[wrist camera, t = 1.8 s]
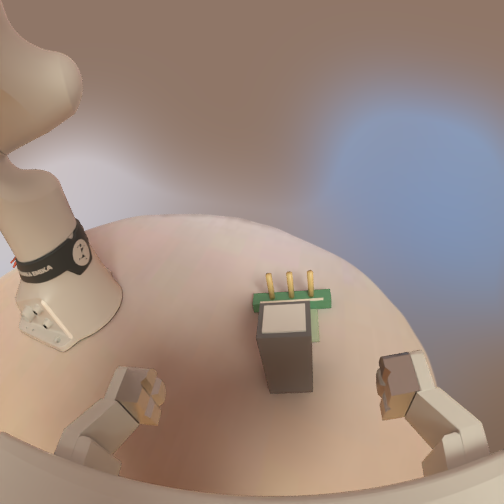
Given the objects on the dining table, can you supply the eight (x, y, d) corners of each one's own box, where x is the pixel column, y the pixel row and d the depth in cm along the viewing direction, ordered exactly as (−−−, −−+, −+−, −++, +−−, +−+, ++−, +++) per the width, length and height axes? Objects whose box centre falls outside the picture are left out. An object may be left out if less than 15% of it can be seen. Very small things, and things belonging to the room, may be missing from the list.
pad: (265, 344, 36) (265, 343, 36) (267, 312, 40) (267, 311, 40) (319, 341, 35) (319, 340, 35) (317, 309, 39) (317, 308, 39)
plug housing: (270, 393, 31) (255, 337, 25) (272, 362, 34) (259, 301, 28) (312, 391, 30) (311, 334, 24) (312, 361, 33) (309, 298, 27)
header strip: (254, 312, 41) (247, 281, 38) (255, 301, 42) (249, 270, 39) (331, 307, 39) (331, 276, 36) (329, 296, 41) (329, 265, 38)
